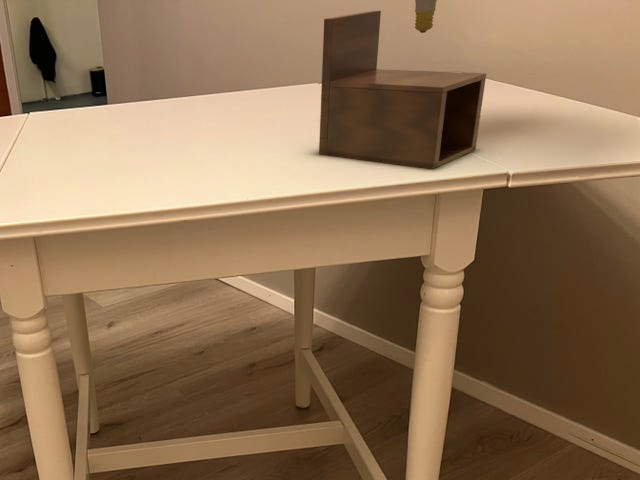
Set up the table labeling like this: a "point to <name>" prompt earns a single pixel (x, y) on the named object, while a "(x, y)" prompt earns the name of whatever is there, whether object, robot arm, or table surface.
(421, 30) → the light bulb
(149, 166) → the table surface
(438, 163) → the shelf
